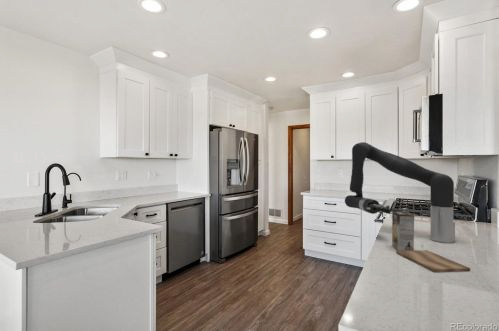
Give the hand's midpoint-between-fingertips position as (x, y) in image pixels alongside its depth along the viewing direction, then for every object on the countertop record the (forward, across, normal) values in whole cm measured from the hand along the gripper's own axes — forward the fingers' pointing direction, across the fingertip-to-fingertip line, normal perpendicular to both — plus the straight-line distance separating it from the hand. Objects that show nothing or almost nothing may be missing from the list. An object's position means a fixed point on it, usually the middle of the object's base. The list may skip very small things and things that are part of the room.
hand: (388, 211), depth 127 cm
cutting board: (+25, 0, +15) cm, 29 cm away
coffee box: (+10, 0, +15) cm, 18 cm away
